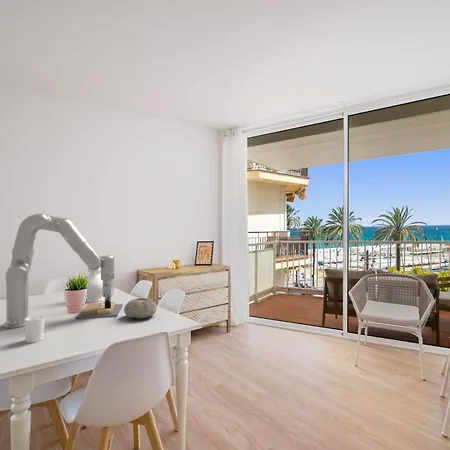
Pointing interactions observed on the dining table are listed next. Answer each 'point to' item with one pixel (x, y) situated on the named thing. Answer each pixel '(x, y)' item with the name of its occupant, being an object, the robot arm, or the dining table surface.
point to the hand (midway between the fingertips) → (107, 307)
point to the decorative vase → (94, 286)
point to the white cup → (34, 328)
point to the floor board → (113, 314)
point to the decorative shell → (140, 308)
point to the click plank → (107, 310)
